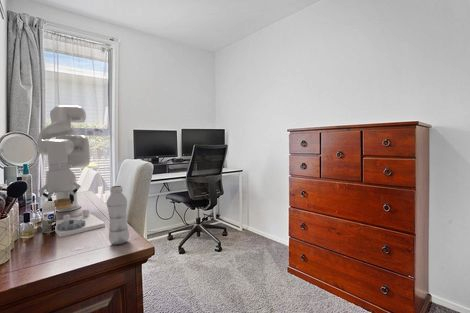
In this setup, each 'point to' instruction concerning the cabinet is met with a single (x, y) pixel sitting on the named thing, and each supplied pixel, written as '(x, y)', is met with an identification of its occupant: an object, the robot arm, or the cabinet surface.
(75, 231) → the gear board
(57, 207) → the ochre gear
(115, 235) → the plastic bottle
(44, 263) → the cabinet surface
